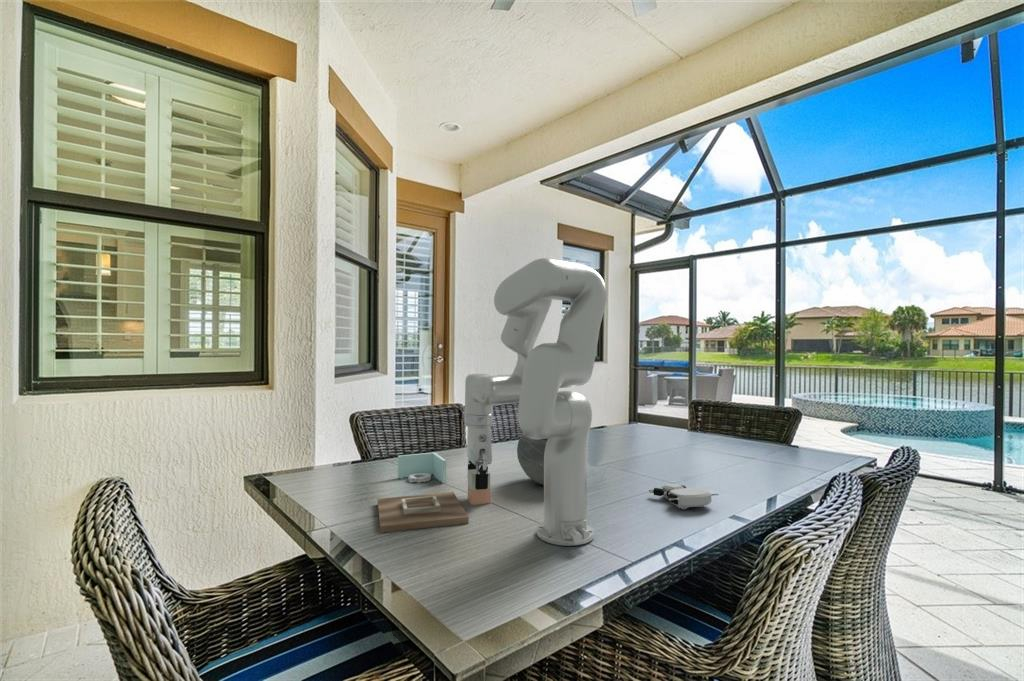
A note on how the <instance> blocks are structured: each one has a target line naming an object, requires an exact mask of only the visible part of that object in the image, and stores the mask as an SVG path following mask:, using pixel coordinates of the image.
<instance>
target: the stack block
mask: <svg viewBox="0 0 1024 681" xmlns="http://www.w3.org/2000/svg"><path fill="white" fill-rule="evenodd" d="M476 474H477V470H476V469H472V470H468V469H467V500H468V502H469V504H470V505H471V506H479V505H487V503H489V504H491V472H490V471H489V470H488V488H487V489H481V490H476V488H475V480H476Z"/></svg>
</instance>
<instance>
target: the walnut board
mask: <svg viewBox="0 0 1024 681" xmlns="http://www.w3.org/2000/svg"><path fill="white" fill-rule="evenodd" d="M377 511H378V512H377V513H378V522H379V525H380V526H379V533H380V534H381V533H390V532H399V531H409V530H410V531H411V530H419V529H428V528H437V527H449V526H457V525H466V524H469V515H468V514H467V512H466V511H465V509H464V507H463V506H462V504H461V502H460V501H459V499H458V497H457V496H456V494H455V492H454V491H449V492H438V493H437V492H436V493H427V494H425V493H424V494H418V495H417V494H414V495H404V496H393V497H382V498H381V497H379V498H377Z"/></svg>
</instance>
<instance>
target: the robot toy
mask: <svg viewBox="0 0 1024 681" xmlns="http://www.w3.org/2000/svg"><path fill="white" fill-rule="evenodd" d="M648 492H649V493H650V494H653V496H658V497H662V496H663V497H664V498H665V499H666V498H667V499H668V502H669V503H670V504H672V505H675V506H676V507H677V508H678V509H680V508H681V509H680V510H688V509H689V508H694V507H695V508H697V507H701V508H703V507H704V506H707V505H710V504H711V503H712V496H719V495H720V494H719V493H714V494H713V493H711V492H710V491H709V490H705V489H702V488H700V487H699V488H696V487H694V488H693V487H687V486H686V485H683V484H681V485H680V484H679V483H667V484H663V485H661V488H660V487H654V488H650V489H648ZM667 499H666V500H667ZM687 508H688V509H687Z"/></svg>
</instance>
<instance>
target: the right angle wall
mask: <svg viewBox="0 0 1024 681" xmlns="http://www.w3.org/2000/svg"><path fill="white" fill-rule="evenodd" d="M431 474H433V475H434V476H435V477H434V476H433V475H431ZM431 476H433V477H434V478H436V479H437V480H438V481H439V482H440V481H441V482H442V483H444V484H446V483H447V460H446V458H444V457H442V456H441V455H439V454H438V453H437V452H436V451H435V452H426V453H425V452H424V453H415V454H413V453H412V454H403V455H397V479H398V478H400V479H404V478H403V477H408V478H407V479H408V482H410V481H411V482H417V483H416V484H422V483H421V482H425V483H426V481H427V482H429V481H431V479H432V478H431ZM411 482H410V483H411ZM441 482H440V483H441ZM442 483H441V484H442Z"/></svg>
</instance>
